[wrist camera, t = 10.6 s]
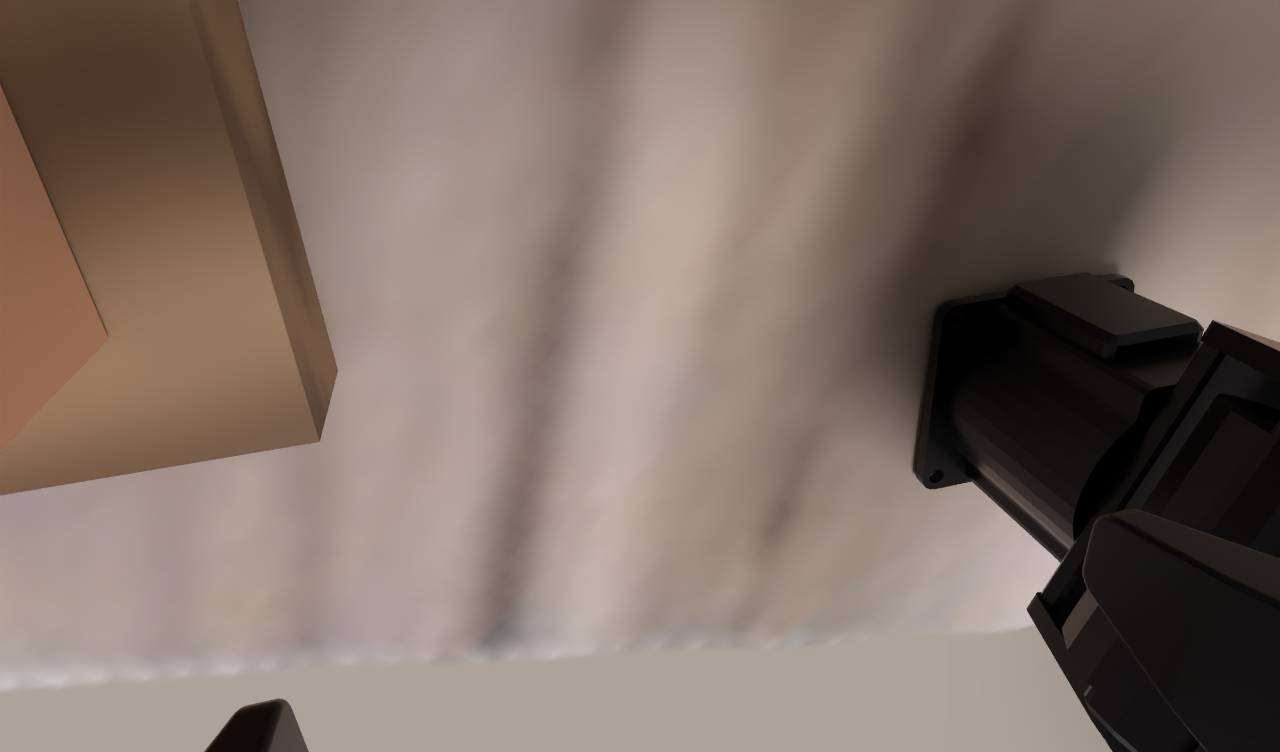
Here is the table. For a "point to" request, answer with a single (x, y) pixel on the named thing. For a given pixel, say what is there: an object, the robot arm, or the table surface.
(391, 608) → the table surface
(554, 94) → the table surface
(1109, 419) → the robot arm
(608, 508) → the table surface
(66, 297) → the terracotta cube
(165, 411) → the walnut block
